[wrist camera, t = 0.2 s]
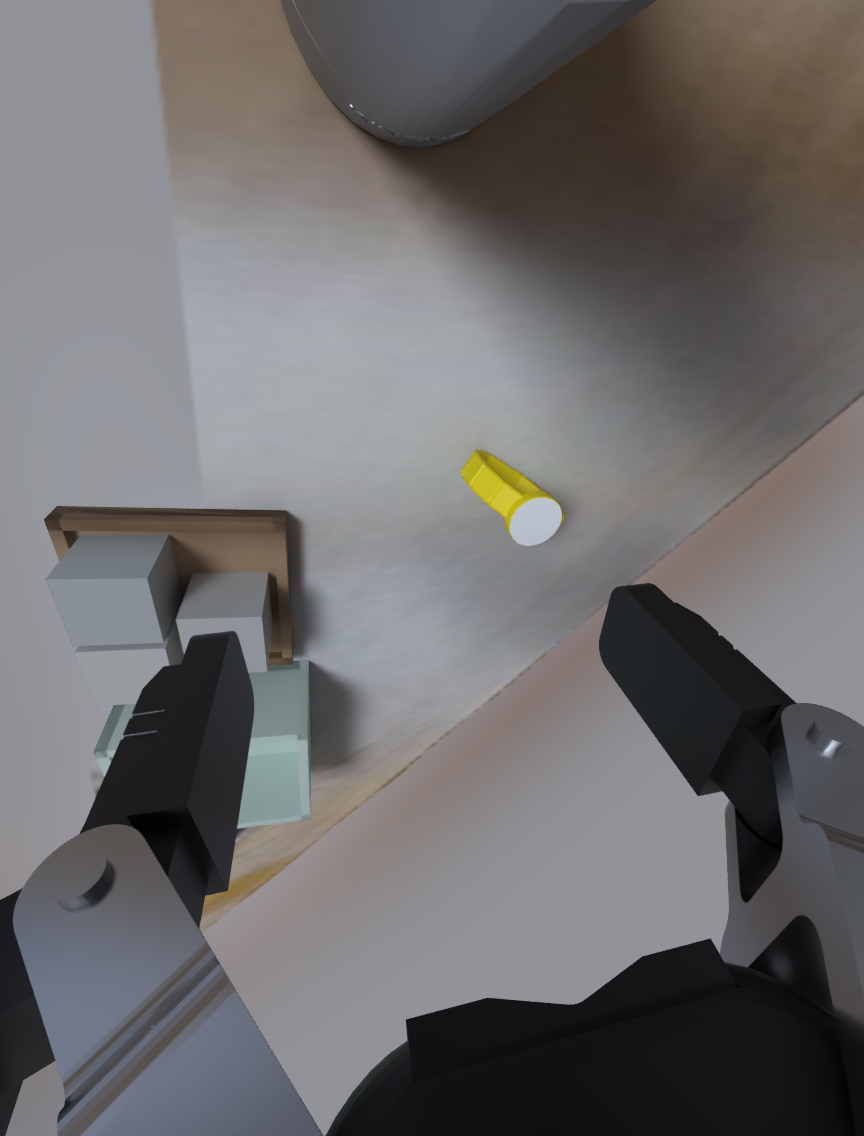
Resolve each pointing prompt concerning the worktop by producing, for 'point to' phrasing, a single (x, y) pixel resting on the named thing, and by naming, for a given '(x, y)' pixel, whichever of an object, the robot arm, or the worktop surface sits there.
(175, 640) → the light grey cube
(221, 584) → the grey cube
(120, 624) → the grey stone
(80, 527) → the walnut tray
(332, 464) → the worktop surface
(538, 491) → the watch
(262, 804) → the green bin
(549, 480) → the worktop surface
